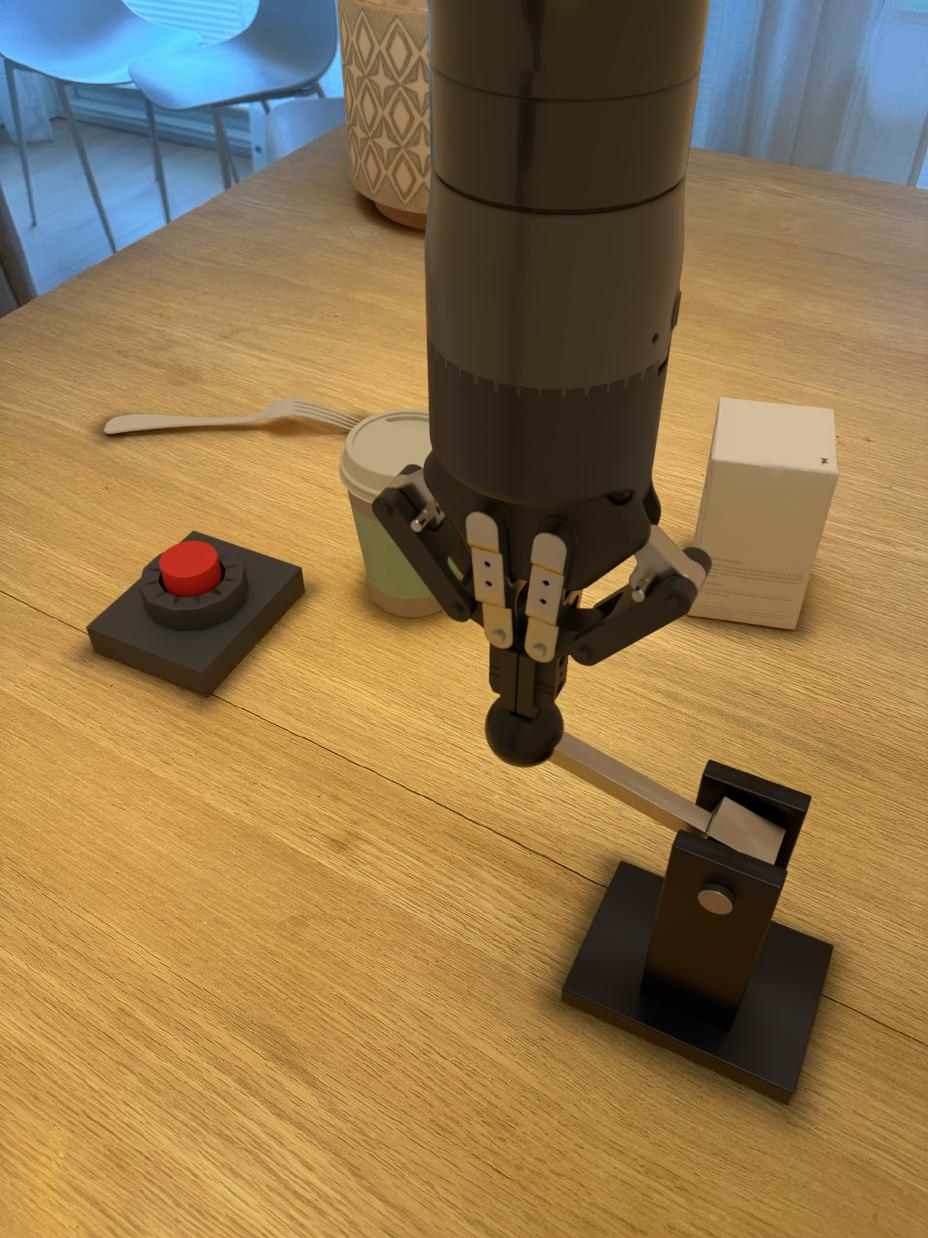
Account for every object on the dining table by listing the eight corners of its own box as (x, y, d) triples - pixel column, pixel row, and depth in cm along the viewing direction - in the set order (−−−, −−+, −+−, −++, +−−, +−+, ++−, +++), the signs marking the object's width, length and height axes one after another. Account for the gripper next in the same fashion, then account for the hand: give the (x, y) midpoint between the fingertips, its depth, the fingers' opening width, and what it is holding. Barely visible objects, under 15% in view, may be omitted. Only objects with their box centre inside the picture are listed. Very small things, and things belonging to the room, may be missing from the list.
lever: (463, 757, 45) (481, 712, 43) (497, 704, 48) (516, 659, 45) (738, 914, 43) (774, 876, 41) (760, 851, 46) (795, 813, 43)
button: (198, 604, 66) (193, 583, 64) (152, 587, 67) (146, 566, 66) (232, 571, 68) (228, 550, 67) (187, 555, 69) (183, 534, 68)
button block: (207, 697, 65) (196, 651, 62) (93, 651, 68) (78, 605, 65) (305, 591, 72) (299, 545, 69) (198, 554, 75) (188, 509, 72)
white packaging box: (796, 562, 74) (839, 406, 65) (795, 634, 69) (842, 474, 60) (690, 547, 75) (718, 392, 67) (681, 616, 70) (711, 457, 61)
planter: (531, 258, 110) (541, 20, 95) (314, 223, 117) (291, -4, 102) (597, 174, 128) (614, -39, 113) (404, 148, 134) (396, -56, 119)
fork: (119, 443, 89) (108, 415, 87) (360, 417, 88) (354, 388, 86) (111, 462, 87) (99, 433, 85) (358, 436, 86) (352, 406, 84)
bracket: (559, 1000, 50) (579, 843, 42) (618, 872, 55) (646, 708, 47) (789, 1106, 47) (862, 957, 38) (829, 957, 52) (902, 797, 43)
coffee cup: (500, 602, 71) (504, 452, 63) (389, 649, 68) (378, 498, 60) (434, 535, 76) (431, 389, 68) (329, 576, 73) (311, 428, 65)
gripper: (298, 322, 32) (344, 707, 44) (725, 430, 27) (647, 825, 39) (417, 230, 37) (429, 599, 49) (795, 309, 32) (707, 693, 44)
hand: (527, 700), depth 44 cm, fingers closed
